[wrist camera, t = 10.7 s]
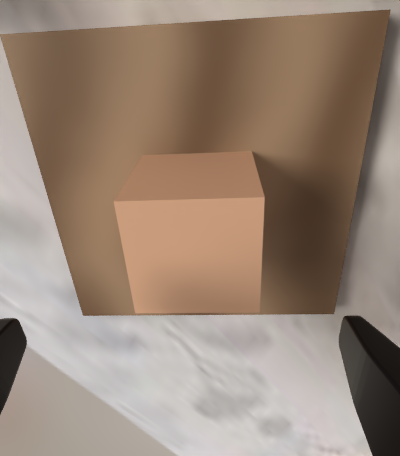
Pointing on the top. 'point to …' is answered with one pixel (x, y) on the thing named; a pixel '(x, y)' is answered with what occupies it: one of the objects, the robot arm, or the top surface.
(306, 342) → the top surface
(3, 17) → the top surface
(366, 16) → the walnut board
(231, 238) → the terracotta cube
